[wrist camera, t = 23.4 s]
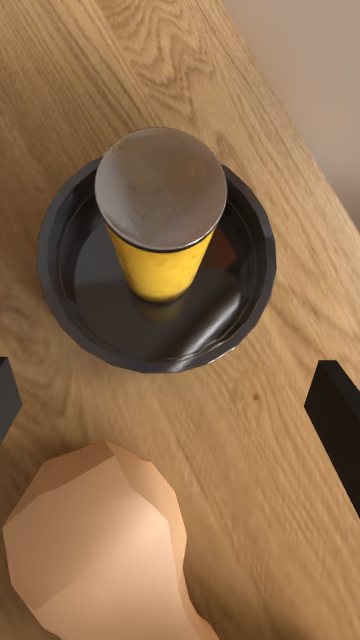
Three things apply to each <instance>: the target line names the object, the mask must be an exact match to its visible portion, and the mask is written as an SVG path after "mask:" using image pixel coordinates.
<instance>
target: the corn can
mask: <svg viewBox="0 0 360 640" xmlns="http://www.w3.org/2000/svg"><path fill="white" fill-rule="evenodd" d="M95 196H96V201H97V204H98V207H99V210H100V213H101V215H102V217H103V219H104V221H105V224H106V226H107V229H108V232H109V235H110V237H111V240H112V243H113V246H114V248H115V251H116V254H117V257H118V260H119V262H120V265H121V268H122V271H123V273H124V276H125V279H126V282H127V284H128V286H129V287H130V288H131V290H132V291H133V292H134V293H135V294H136V295H137V296H139V297H140V298H142V299H144V300H146V301H149V302H154V303H166V302H170V301H173V300H175V299H177V298H179V297H181V296H182V295H183V294H184V293H185V292H186V291H187V290H188V289H189V287H190V286H191V284H192V282H193V279H194V277H195V274H196V272H197V270H198V267H199V265H200V263H201V260H202V258H203V256H204V253H205V251H206V249H207V246H208V244H209V242H210V239H211V237H212V235H213V232H214V230H215V227H216V225H217V224H218V222H219V220H220V218H221V216H222V214H223V211H224V208H225V205H226V199H227V183H226V178H225V174H224V171H223V169H222V166H221V164H220V162H219V161H218V159H217V157H216V156H215V155H214V153H213V152H212V151H211V150H210V149H209V148H208V147H207V146H206V145H205V144H204V143H203V142H201V141H200V140H199V139H197V138H195V137H194V136H192V135H190V134H188V133H186V132H183V131H180V130H176V129H172V128H164V127H152V128H145V129H141V130H137V131H135V132H132V133H130V134H128V135H126V136H124V137H122V138H121V139H119V140H118V141H117V142H115V143H114V144H113V145H112V146H111V147H110V148H109V150H108V151H107V152H106V153H105V155H104V156H103V158H102V160H101V162H100V164H99V167H98V169H97V173H96V177H95Z"/></svg>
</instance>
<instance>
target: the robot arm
mask: <svg viewBox="0 0 360 640" xmlns="http://www.w3.org/2000/svg"><path fill="white" fill-rule="evenodd" d="M21 407H22V402H21V398H20V395H19V392H18V389H17V385H16V382H15V379H14V376H13V373H12V369H11V366H10V363H9V360H8V357H0V444H1V443H2V441H3V439H4V437H5V436H6V434H7V432H8V430H9V428H10V427H11V425H12V423H13V421H14V419H15V418H16V416H17V414H18V412H19V410H20V409H21ZM304 408H305V410H306V412H307V414H308V416H309V418H310V420H311V422H312V424H313V426H314V428H315V430H316V432H317V434H318V436H319V438H320V440H321V442H322V444H323V446H324V448H325V450H326V452H327V454H328V456H329V458H330V460H331V462H332V464H333V466H334V468H335V470H336V472H337V474H338V476H339V478H340V480H341V482H342V484H343V486H344V488H345V490H346V492H347V494H348V496H349V498H350V500H351V502H352V504H353V506H354V508H355V510H356V512H357V514H358V516H359V518H360V391H359V390H358V389H357V387H356V386H355V385H354V383H353V382H352V381H351V379H350V378H349V377H348V375H347V374H346V373H345V371H344V370H343V369H342V367H341V366H340V365H339V363H338V362H337V361H336V360H319V362H318V365H317V368H316V371H315V374H314V377H313V380H312V383H311V386H310V389H309V392H308V395H307V398H306V401H305V404H304Z"/></svg>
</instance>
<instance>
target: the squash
mask: <svg viewBox="0 0 360 640" xmlns="http://www.w3.org/2000/svg"><path fill="white" fill-rule="evenodd" d="M3 535H4V541H5V548H6V554H7V560H8V567H9V573H10V580H11V585H12V586H13V588H14V589H15V590H16V592H17V593H18V595H19V596H20V597H21V599H22V600H23V601H24V603H25V604H26V605H27V607H28V608H29V609H30V611H31V612H32V614H33V615H34V616H35V618H36V619H37V620H38V622H39V623H40V624H41V626H42V627H43V628H44V629H45V630H47V631H49V632H51V633H53V634H55V635H57V636H59V637H61V639H62V640H220V639H219V638H218V637H217V635H216V633H215V632H214V630H213V629H212V627H211V626H210V624H209V623H208V622H207V621H205V620H204V619H203V618H202V617H200V616H199V615H198V614H197V612H196V610H195V609H194V607H193V605H192V603H191V602H190V600H189V596H188V591H187V587H186V582H185V578H184V574H183V569H182V567H183V560H184V553H185V547H186V540H187V535H186V531H185V527H184V524H183V520H182V516H181V513H180V509H179V506H178V502H177V498H176V495H175V491H174V490H173V489H172V488H171V486H170V485H169V484H168V482H167V481H166V480H165V479H164V477H163V476H162V475H161V474H160V472H159V471H158V470H157V469H156V467H155V466H154V465H153V464H152V462H150V461H148V460H146V459H144V458H142V457H140V456H138V455H136V454H134V453H132V452H129V451H127V450H125V449H123V448H121V447H119V446H117V445H115V444H113V443H111V442H109V441H102V442H97V443H93V444H91V445H89V446H87V447H85V448H82V449H79V450H76V451H73V452H70V453H67V454H64V455H61V456H58V457H56V458H53V459H50V460H47V461H45V462H44V463H43V465H42V466H41V468H40V469H39V471H38V472H37V474H36V476H35V477H34V479H33V480H32V482H31V483H30V485H29V486H28V488H27V490H26V491H25V493H24V494H23V496H22V497H21V499H20V501H19V502H18V504H17V505H16V507H15V509H14V510H13V512H12V513H11V515H10V517H9V518H8V520H7V522H6V523H5V525H4V526H3Z"/></svg>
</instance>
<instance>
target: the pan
mask: <svg viewBox="0 0 360 640" xmlns="http://www.w3.org/2000/svg"><path fill="white" fill-rule="evenodd" d="M102 158H103V156H102V157H100V158H97V159H95V160H93V161H91V162H89V163H88V164H86V165H85V166H84V167H83V168H82V169H81V170H79V171H78V172H77V173H76V174H75V175H73V176H72V177H71V178H70V179H69V180H67V181H66V183H65V184H64V185H63V186H62V188H61V189H60V191H59V192H58V194H57V195H56V197H55V198H54V199H53V201H52V202H51V204H50V205H49V207H48V210H47V212H46V215H45V218H44V221H43V224H42V227H41V230H40V233H39V236H38V250H37V271H38V275H39V279H40V284H41V288H42V292H43V296H44V299H45V301H46V302H47V304H48V306H49V308H50V310H51V311H52V313H53V315H54V317H55V319H56V320H57V322H58V324H59V325H60V327H61V328H62V329H63V330H64V331H65V332H66V333H67V334H68V335H69V336H70V337H71V338H72V339H73V340H74V341H75V342H76V343H77V344H78V345H79V346H80V347H81V348H83V349H84V350H86V351H87V352H89V353H91V354H93V355H94V356H96V357H98V358H100V359H102V360H103V361H105V362H107V363H109V364H110V365H113V366H117V367H120V368H124V369H128V370H132V371H136V372H140V373H179V372H182V371H186V370H189V369H193V368H196V367H200V366H203V365H206V364H208V363H211V362H212V361H214V360H216V359H217V358H219V357H221V356H222V355H224V354H226V353H227V352H229V351H230V350H232V349H234V348H235V347H236V346H237V345H238V344H239V343H240V342H241V341H242V340H243V339H244V338H245V337H246V336H247V335H248V334H249V332H250V331H251V330H252V329H253V328H254V327H255V326H256V324H257V323H258V321H259V319H260V317H261V315H262V314H263V312H264V310H265V308H266V306H267V304H268V302H269V300H270V298H271V294H272V289H273V284H274V280H275V275H276V270H277V265H276V249H275V238H274V235H273V232H272V229H271V226H270V223H269V220H268V217H267V214H266V212H265V210H264V209H263V207H262V206H261V204H260V202H259V201H258V199H257V198H256V196H255V195H254V193H253V192H252V190H251V189H250V188H249V187H248V186H247V185H246V184H245V183H244V182H243V181H242V180H241V179H240V178H239V177H238V176H237V175H236V174H234V173H233V172H232V171H231V170H230V169H229V168H228V167H226V166H224V165H223V164H221V163H220V164H221V166H222V169H223V171H224V174H225V178H226V183H227V199H226V205H225V208H224V211H223V214H222V216H221V218H220V220H219V222H218V224H217V225H216V227H215V230H214V232H213V235H212V237H211V239H210V242H209V244H208V246H207V249H206V251H205V253H204V256H203V258H202V260H201V263H200V265H199V267H198V270H197V272H196V274H195V277H194V279H193V282H192V284H191V286H190V287H189V289H188V290H187V291H186V292H185V293H184V294H183V295H182V296H181V297H179V298H177V299H175V300H173V301H170V302H166V303H154V302H149V301H146V300H144V299H142V298H140V297H139V296H137V295H136V294H135V293H134V292H133V291H132V290H131V288H130V287H129V286H128V284H127V282H126V279H125V276H124V273H123V271H122V268H121V265H120V262H119V260H118V257H117V254H116V251H115V248H114V246H113V243H112V240H111V237H110V235H109V232H108V229H107V226H106V224H105V221H104V219H103V217H102V215H101V213H100V210H99V207H98V204H97V201H96V196H95V177H96V173H97V169H98V167H99V164H100V162H101V160H102Z"/></svg>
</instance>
